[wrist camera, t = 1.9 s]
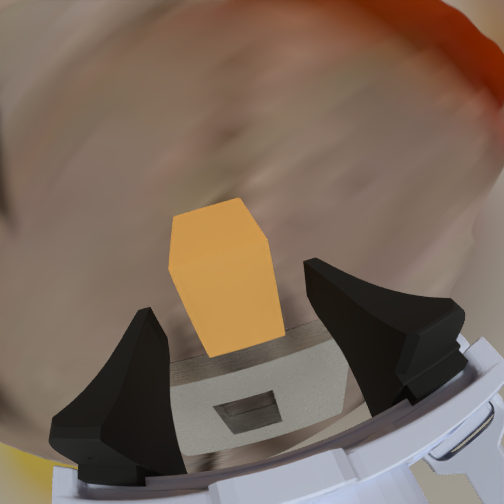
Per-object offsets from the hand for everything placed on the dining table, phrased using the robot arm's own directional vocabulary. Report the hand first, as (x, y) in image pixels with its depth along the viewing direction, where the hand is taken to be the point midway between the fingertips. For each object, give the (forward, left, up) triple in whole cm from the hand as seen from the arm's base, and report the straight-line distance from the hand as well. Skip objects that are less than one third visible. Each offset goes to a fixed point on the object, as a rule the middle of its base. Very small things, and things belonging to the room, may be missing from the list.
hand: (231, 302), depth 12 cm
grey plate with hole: (+2, +17, -6) cm, 18 cm away
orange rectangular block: (0, 0, -6) cm, 6 cm away
